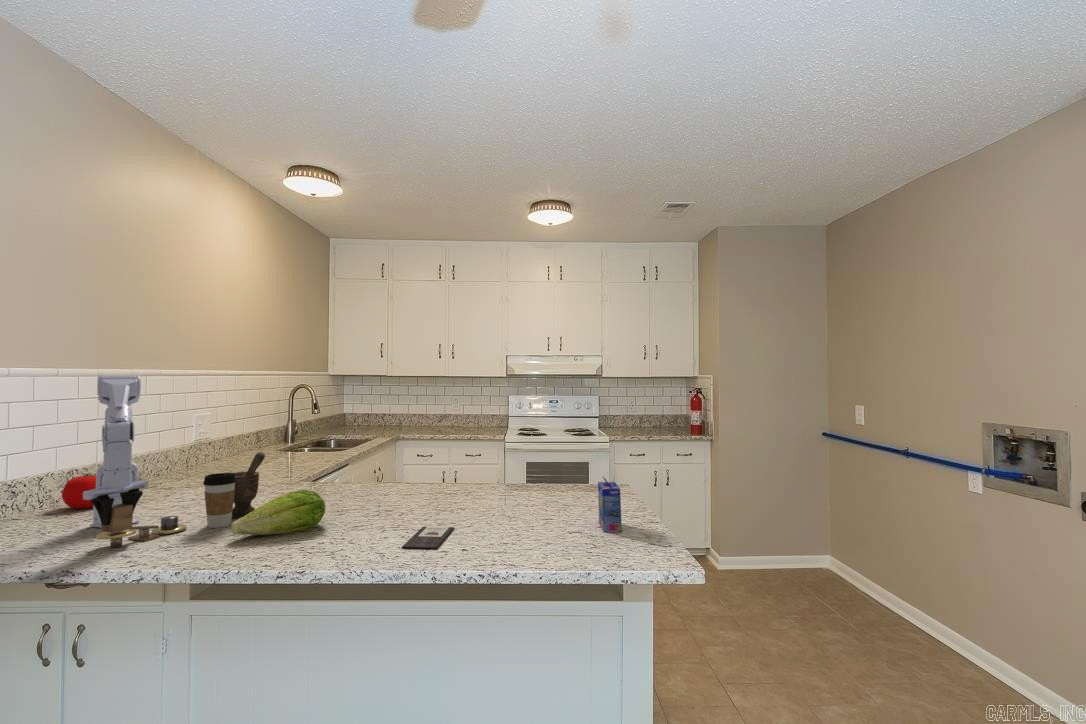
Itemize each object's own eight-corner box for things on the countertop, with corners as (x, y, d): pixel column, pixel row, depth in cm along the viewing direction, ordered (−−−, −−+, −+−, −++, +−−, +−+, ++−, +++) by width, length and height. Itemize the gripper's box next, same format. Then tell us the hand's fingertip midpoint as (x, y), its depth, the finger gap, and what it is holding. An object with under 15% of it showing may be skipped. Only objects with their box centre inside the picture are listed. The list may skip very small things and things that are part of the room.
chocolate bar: (401, 546, 135) (422, 526, 153) (401, 550, 135) (422, 529, 153) (436, 547, 135) (453, 527, 153) (436, 551, 135) (453, 530, 153)
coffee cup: (220, 530, 152) (221, 476, 152) (195, 528, 153) (196, 475, 154) (242, 522, 160) (243, 471, 160) (218, 520, 162) (219, 470, 162)
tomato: (51, 511, 173) (52, 476, 173) (92, 501, 186) (92, 469, 186) (82, 512, 171) (83, 478, 171) (121, 503, 184) (122, 470, 184)
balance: (88, 549, 135) (88, 533, 135) (172, 526, 156) (172, 512, 156) (110, 552, 132) (110, 536, 132) (193, 528, 153) (193, 514, 153)
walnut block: (101, 531, 136) (102, 507, 136) (120, 526, 140) (120, 503, 140) (113, 532, 135) (114, 508, 135) (132, 528, 139) (133, 504, 139)
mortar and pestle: (273, 511, 172) (273, 449, 173) (260, 518, 164) (261, 453, 164) (235, 512, 171) (236, 449, 172) (221, 519, 163) (222, 453, 163)
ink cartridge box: (597, 522, 159) (597, 473, 159) (615, 522, 159) (615, 473, 160) (602, 532, 149) (602, 480, 150) (622, 532, 149) (621, 480, 150)
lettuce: (220, 517, 147) (231, 495, 140) (309, 496, 165) (323, 476, 158) (231, 558, 142) (243, 538, 135) (321, 532, 160) (336, 513, 153)
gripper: (97, 474, 130) (96, 531, 129) (157, 465, 143) (156, 516, 143) (77, 473, 132) (76, 528, 132) (138, 463, 146) (137, 514, 145)
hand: (116, 522), depth 137 cm, fingers closed on walnut block, 5 cm apart
